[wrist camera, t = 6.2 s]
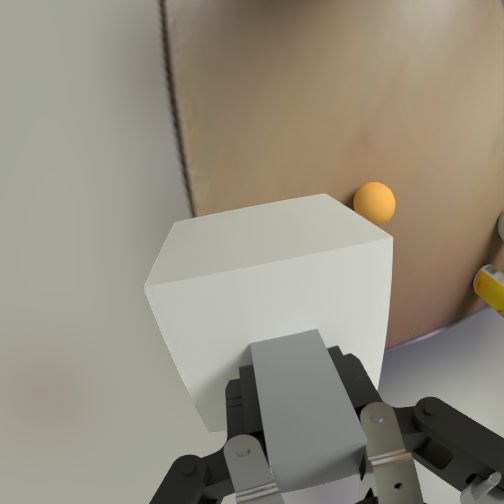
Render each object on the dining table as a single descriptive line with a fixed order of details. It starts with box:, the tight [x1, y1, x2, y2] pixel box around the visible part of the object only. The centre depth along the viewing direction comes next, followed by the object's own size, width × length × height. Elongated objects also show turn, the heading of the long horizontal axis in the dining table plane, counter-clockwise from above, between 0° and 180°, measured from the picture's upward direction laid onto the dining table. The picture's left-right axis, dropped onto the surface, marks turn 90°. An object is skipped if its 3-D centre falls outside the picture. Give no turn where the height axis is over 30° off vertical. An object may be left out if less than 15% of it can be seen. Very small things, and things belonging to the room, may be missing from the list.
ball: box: [353, 182, 395, 225], centre depth 32 cm, size 5×5×5 cm
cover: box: [143, 194, 393, 493], centre depth 14 cm, size 10×10×15 cm
